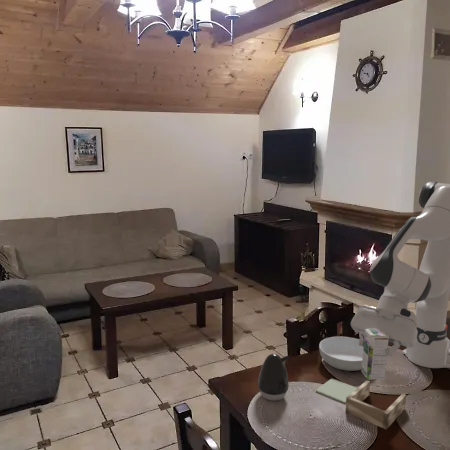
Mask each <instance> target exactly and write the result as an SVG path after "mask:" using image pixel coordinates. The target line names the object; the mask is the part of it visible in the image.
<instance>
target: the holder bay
mask: <svg viewBox="0 0 450 450" xmlns="http://www.w3.org/2000/svg"><path fill="white" fill-rule="evenodd" d="M370 386H371V381H370V380H368V379H367V380H365V381H364V382H363V383H362V384H360V385H359V386H358V387H356V388H357V389H356V390H355V391H353V392H352V393H351V394H350V395H349V396H348V397H346V403H345V413H347V414H348V415H351V416H353V417H355V418H358V417H359V418H358V419H361V420H363V421H365V422H367V423H370V424H372V425H374V426H377V427H379V428H382V429H383V430H387V429H388V428H389V427H390V426H391V425H392V424H393V423H394V422H396V421H395V420H396V419H397V418H398V417H400V415H401V414H402V413H403V412H404V411H405V410H406V402H407V394H405V393H401V394H400V396H398V397H397V399H395V401H393V403H391V404H390V405H389V407H387V409H386V410H383V409H382V408H378V407H376V406H374V405H372V404H369V403H366V402H364V400H365V399H367V397H369V396H370ZM403 410H404V411H403ZM402 411H403V412H402Z"/></svg>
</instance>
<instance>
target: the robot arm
mask: <svg viewBox="0 0 450 450" xmlns="http://www.w3.org/2000/svg"><path fill="white" fill-rule="evenodd" d="M418 204H419V206H420V207H421V208H422V212H421V213H420V214H419V215H418V216H411V217H409V218H408V219H407V220H406V221H405V222H404V223H403V224H402V225H401V226H400V228H399V229H398V230H397V232H396V233H395V235H394V236H393V237H392V238H391V240H390V241H389V243H387V245H386V247H385V248H384V249H383V251H382V252H381V253H380V255H378V257H376V258H375V260H373V261H372V263H371V265H370V269H369V275H370V278H371V280H372V282H373V283H375V284H376V285H379V286H382V287H383V288H384V290H383V293H382V294H381V296H380V297H379V300H378V302H377V304H376V306H375V307H374V306H369V305H367V304H364V305H360V306H358V308H357V310H356V313H355V315H353V317H352V319H351V321H350V326H351V329H352V330H354V331H355V332H358V335H359V336H358V337H359V342H358V344H359V346H362V347H364V336H365V329H378V330H381V331H383V332H384V333H386V334H387V335H388V336H389V339H388V342H389V343H393V345H392V346H391V347H388V348H387V351H386V354H387V356H390V357H392V356H393V354H394V352H395V351H396V350H398V349H400V347H401V346H403V347H405V349H403V350H402V354H403V355H404V354H405V355H404V356H406V358H407V357H408V358H407V359H408V360H409V361H410V362H411V363H413V364H415V365H418V366H420V367H423V368H430V369H441V368H443V369H444V368H446V369H450V339H449V338H448V337H447V335H448V334H447V333H448V332H447V330H448V324H446V323H447V315H448V314H447V313H448V307H449V299H450V183H444V182H438V181H427V182H426V183H424V184H423V185H422V187H421V188H420V191H419V192H418ZM415 239H416V240H422V241H427V245H426V248H425V250H424V254H423V256H422V259H421V263H420V265H419V269H417V268H416V267H414V266H412V265H411V264H408V263H406V262H405V261H402V260H401V259H399V257H398V255H399V253H401V251H402V249H403V248H404V247H405V245H406V244H407V242H408V241H409V240H415ZM409 303H413V304H414V303H416V305H415V313H414V312H413V311H412V310H410V309H408V306H409Z"/></svg>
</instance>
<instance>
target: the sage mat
mask: <svg viewBox="0 0 450 450" xmlns="http://www.w3.org/2000/svg"><path fill="white" fill-rule="evenodd" d="M357 388H358V387H356V386H353V385H351V384H348V383H346V382H342V381H340V380H338V379H335V378H333V377H332V378H330V379H329V380H327V381H326V382H325V383H324V384H322V385H321V386H320V387H318V388H317V389H315V392H316V393H319V394H321V395H323V396H325V397H328V398H330V399H333V400H334V401H337V402H339V403H342V404H345V405H346V397H348V396H349V395H350V394H351V393H352V392H353V391H355V390H356V389H357Z"/></svg>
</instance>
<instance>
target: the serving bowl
mask: <svg viewBox="0 0 450 450" xmlns="http://www.w3.org/2000/svg"><path fill="white" fill-rule="evenodd" d="M359 340H360V338H355V337H349V336H331V337H326V338H324V339H322V340H321V341H320V342H319V344H318V345H319V346H318V349H319V353H320V356H321V358H322V359H323V360H324V361H325V363H326V364H328V365H329V366H331V367H333V368H335V369H338V370H342V371H343V370H344V371H348V372H349V371H352V372H353V371H360V370H361V371H362V358H363V347H362V346H359V344H358V342H359Z"/></svg>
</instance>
